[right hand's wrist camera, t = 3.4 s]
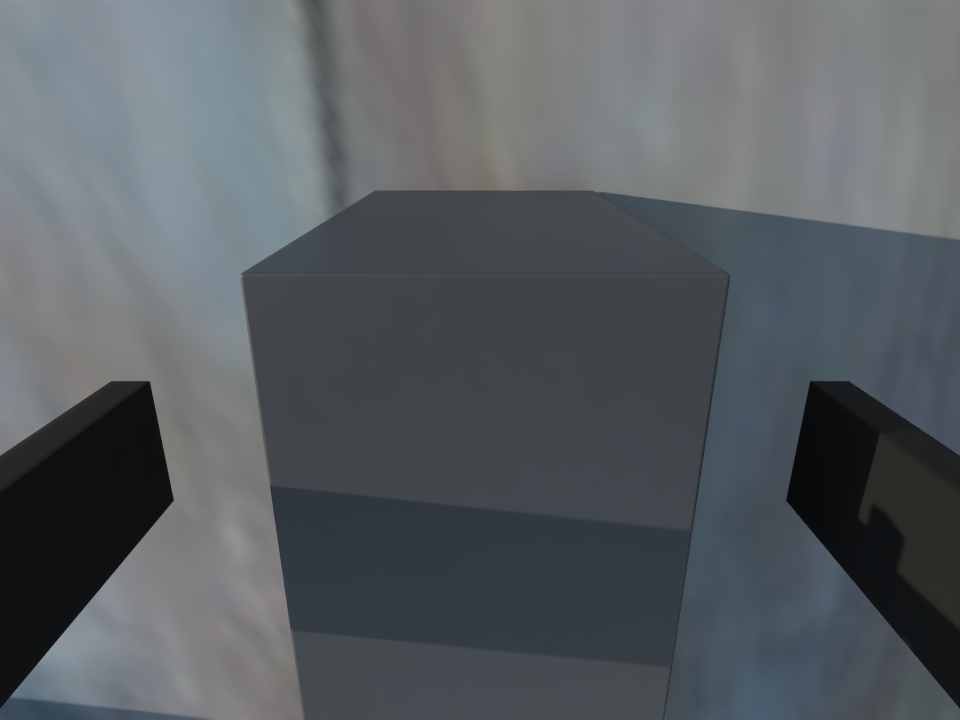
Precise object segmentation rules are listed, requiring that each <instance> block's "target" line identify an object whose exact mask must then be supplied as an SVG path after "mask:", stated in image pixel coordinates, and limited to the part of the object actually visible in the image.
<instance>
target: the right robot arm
mask: <svg viewBox="0 0 960 720" xmlns="http://www.w3.org/2000/svg"><path fill="white" fill-rule="evenodd" d="M173 501H174V499H173V494H172V489H171V484H170V479H169V474H168V469H167V464H166V459H165V455H164V450H163V445H162V440H161V435H160V430H159V425H158V420H157V415H156V410H155V405H154V400H153V395H152V390H151V385H150V381H111V382H109V383H108V384H107V385H105V386H104V387H102V388H101V389H99V390H98V391H96V392H95V393H93V394H92V395H90V396H89V397H87V398H86V399H84V400H83V401H81V402H80V403H78V404H77V405H75V406H74V407H72V408H71V409H69V410H68V411H66V412H65V413H63V414H62V415H60V416H59V417H57V418H56V419H54V420H53V421H51V422H50V423H48V424H47V425H45V426H44V427H42V428H41V429H39V430H38V431H37V432H35V433H34V434H32V435H31V436H29V437H28V438H26V439H25V440H23V441H22V442H20V443H19V444H17V445H16V446H14V447H13V448H11V449H10V450H8V451H7V452H5V453H4V454H2V455H1V456H0V708H1V707H2V706H3V704H4V703H5V702H6V701H7V700H8V698H9V697H10V696H11V695H12V694H13V692H14V691H15V690H16V689H17V688H18V686H19V685H20V684H21V683H22V682H23V680H24V679H25V678H26V677H27V676H28V674H29V673H30V672H31V671H32V670H33V668H34V667H35V666H36V665H37V664H38V662H39V661H40V660H41V659H42V658H43V657H44V655H45V654H46V653H47V652H48V651H49V649H50V648H51V647H52V646H53V645H54V643H55V642H56V641H57V640H58V639H59V637H60V636H61V635H62V634H63V633H64V631H65V630H66V629H67V628H68V627H69V625H70V624H71V623H72V622H73V621H74V619H75V618H76V617H77V616H78V615H79V613H80V612H81V611H82V610H83V609H84V607H85V606H86V605H87V604H88V603H89V601H90V600H91V599H92V598H93V597H94V595H95V594H96V593H97V592H98V591H99V589H100V588H101V587H102V586H103V585H104V583H105V582H106V581H107V580H108V579H109V577H110V576H111V575H112V574H113V573H114V571H115V570H116V569H117V568H118V567H119V565H120V564H121V563H122V562H123V561H124V559H125V558H126V557H127V556H128V555H129V554H130V552H131V551H132V550H133V549H134V548H135V546H136V545H137V544H138V543H139V542H140V540H141V539H142V538H143V537H144V536H145V534H146V533H147V532H148V531H149V530H150V528H151V527H152V526H153V525H154V524H155V522H156V521H157V520H158V519H159V518H160V516H161V515H162V514H163V513H164V512H165V510H166V509H167V508H168V507H169V506H170V504H171V503H172V502H173ZM786 501H787V502H788V503H789V504H790V506H791V507H792V508H793V509H794V510H795V512H796V513H797V514H798V515H799V516H800V518H801V519H802V520H803V521H804V522H805V524H806V525H807V526H808V527H809V528H810V530H811V531H812V532H813V533H814V534H815V536H816V537H817V538H818V539H819V540H820V542H821V543H822V544H823V545H824V546H825V548H826V549H827V550H828V551H829V552H830V554H831V555H832V556H833V557H834V558H835V560H836V561H837V562H838V563H839V564H840V565H841V567H842V568H843V569H844V570H845V571H846V573H847V574H848V575H849V576H850V577H851V579H852V580H853V581H854V582H855V583H856V585H857V586H858V587H859V588H860V589H861V591H862V592H863V593H864V594H865V595H866V597H867V598H868V599H869V600H870V601H871V603H872V604H873V605H874V606H875V607H876V609H877V610H878V611H879V612H880V613H881V615H882V616H883V617H884V618H885V619H886V621H887V622H888V623H889V624H890V625H891V627H892V628H893V629H894V630H895V631H896V633H897V634H898V635H899V636H900V637H901V639H902V640H903V641H904V642H905V643H906V645H907V646H908V647H909V648H910V649H911V651H912V652H913V653H914V654H915V655H916V657H917V658H918V659H919V660H920V661H921V662H922V664H923V665H924V666H925V667H926V668H927V670H928V671H929V672H930V673H931V674H932V676H933V677H934V678H935V679H936V680H937V682H938V683H939V684H940V685H941V686H942V688H943V689H944V690H945V691H946V692H947V694H948V695H949V696H950V697H951V698H952V700H953V701H954V702H955V703H956V704H957V706H958V707H959V708H960V456H959V455H958V454H956V453H955V452H953V451H952V450H950V449H949V448H947V447H946V446H944V445H943V444H941V443H940V442H938V441H937V440H935V439H934V438H932V437H931V436H929V435H928V434H926V433H925V432H923V431H922V430H921V429H919V428H918V427H916V426H915V425H913V424H912V423H910V422H909V421H907V420H906V419H904V418H903V417H901V416H900V415H898V414H897V413H895V412H894V411H892V410H891V409H889V408H888V407H886V406H885V405H883V404H882V403H880V402H879V401H877V400H876V399H874V398H873V397H871V396H870V395H868V394H867V393H865V392H864V391H862V390H861V389H859V388H858V387H856V386H855V385H853V384H852V383H851V382H849V381H810V385H809V390H808V395H807V400H806V405H805V410H804V415H803V420H802V425H801V430H800V435H799V440H798V445H797V450H796V454H795V459H794V464H793V469H792V474H791V479H790V484H789V489H788V494H787V499H786Z"/></svg>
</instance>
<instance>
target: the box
mask: <svg viewBox="0 0 960 720" xmlns="http://www.w3.org/2000/svg"><path fill="white" fill-rule="evenodd" d="M240 279H241V286H242V293H243V300H244V307H245V314H246V321H247V328H248V335H249V342H250V349H251V356H252V363H253V370H254V377H255V384H256V391H257V398H258V405H259V412H260V419H261V426H262V433H263V440H264V447H265V454H266V461H267V467H268V474H269V481H270V488H271V495H272V502H273V509H274V516H275V523H276V530H277V537H278V544H279V551H280V558H281V565H282V572H283V579H284V586H285V593H286V600H287V607H288V614H289V621H290V628H291V635H292V642H293V649H294V656H295V663H296V670H297V677H298V684H299V691H300V698H301V705H302V712H303V719H304V720H664V716H665V709H666V702H667V696H668V689H669V682H670V676H671V669H672V662H673V656H674V649H675V642H676V635H677V629H678V622H679V615H680V609H681V602H682V595H683V589H684V582H685V575H686V569H687V562H688V555H689V549H690V542H691V535H692V528H693V522H694V515H695V508H696V502H697V495H698V488H699V482H700V475H701V468H702V462H703V455H704V448H705V441H706V435H707V428H708V421H709V415H710V408H711V401H712V395H713V388H714V381H715V375H716V368H717V361H718V354H719V348H720V341H721V334H722V328H723V321H724V314H725V308H726V301H727V294H728V288H729V281H730V275H729V274H728V273H727V272H725V271H723V270H722V269H720V268H718V267H717V266H715V265H713V264H712V263H710V262H709V261H707V260H705V259H704V258H702V257H700V256H699V255H697V254H695V253H694V252H692V251H690V250H689V249H687V248H686V247H684V246H682V245H681V244H679V243H677V242H676V241H674V240H672V239H671V238H669V237H668V236H666V235H664V234H663V233H661V232H659V231H658V230H656V229H654V228H653V227H651V226H649V225H648V224H646V223H645V222H643V221H641V220H640V219H638V218H636V217H635V216H633V215H631V214H630V213H628V212H626V211H625V210H623V209H622V208H620V207H618V206H617V205H615V204H613V203H612V202H610V201H608V200H607V199H605V198H603V197H602V196H600V195H599V194H597V193H595V192H594V191H374V192H372V193H371V194H369V195H367V196H366V197H364V198H363V199H361V200H359V201H358V202H356V203H354V204H353V205H351V206H350V207H348V208H346V209H345V210H343V211H341V212H340V213H338V214H337V215H335V216H333V217H332V218H330V219H329V220H327V221H325V222H324V223H322V224H320V225H319V226H317V227H316V228H314V229H312V230H311V231H309V232H307V233H306V234H304V235H303V236H301V237H299V238H298V239H296V240H295V241H293V242H291V243H290V244H288V245H286V246H285V247H283V248H282V249H280V250H278V251H277V252H275V253H274V254H272V255H270V256H269V257H267V258H265V259H264V260H262V261H261V262H259V263H257V264H256V265H254V266H252V267H251V268H249V269H248V270H246V271H244V272H243V273H241V276H240Z"/></svg>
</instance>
